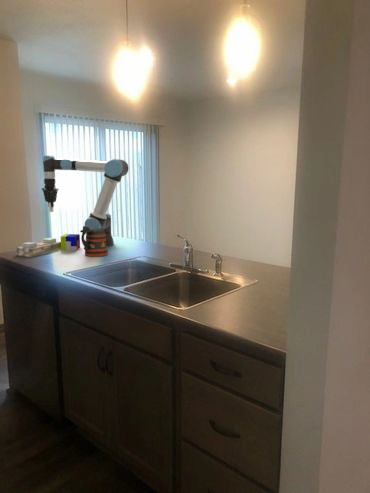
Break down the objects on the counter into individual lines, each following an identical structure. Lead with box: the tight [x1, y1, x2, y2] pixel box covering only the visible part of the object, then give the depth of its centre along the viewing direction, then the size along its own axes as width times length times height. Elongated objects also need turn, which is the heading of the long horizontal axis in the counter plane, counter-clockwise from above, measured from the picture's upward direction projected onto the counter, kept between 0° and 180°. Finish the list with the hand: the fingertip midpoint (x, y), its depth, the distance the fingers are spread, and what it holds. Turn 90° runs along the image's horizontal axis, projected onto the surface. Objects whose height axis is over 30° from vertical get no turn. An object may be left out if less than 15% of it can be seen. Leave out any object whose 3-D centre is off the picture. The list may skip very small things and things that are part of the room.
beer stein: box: [80, 225, 109, 258], centre depth 245 cm, size 19×15×20 cm
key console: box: [16, 240, 61, 258], centre depth 253 cm, size 12×28×5 cm, turn 158°
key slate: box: [21, 241, 38, 248], centre depth 244 cm, size 6×6×4 cm
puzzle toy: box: [60, 233, 81, 252], centre depth 262 cm, size 10×10×10 cm
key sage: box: [42, 237, 57, 244], centre depth 260 cm, size 6×6×4 cm
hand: (51, 211), depth 272 cm, fingers closed
